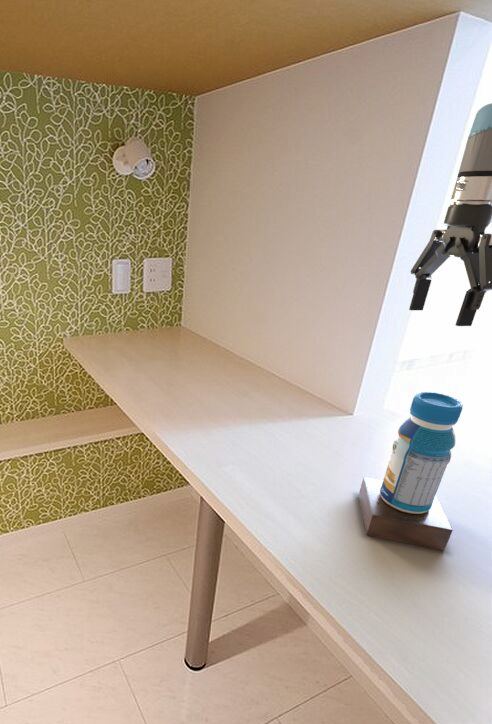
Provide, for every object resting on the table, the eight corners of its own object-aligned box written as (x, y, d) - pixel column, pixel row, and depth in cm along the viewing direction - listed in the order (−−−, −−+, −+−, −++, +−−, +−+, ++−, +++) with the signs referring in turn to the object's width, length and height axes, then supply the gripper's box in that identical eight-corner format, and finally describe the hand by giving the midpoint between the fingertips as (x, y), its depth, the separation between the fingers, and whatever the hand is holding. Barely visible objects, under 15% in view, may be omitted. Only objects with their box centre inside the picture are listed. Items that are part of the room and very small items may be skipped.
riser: (426, 508, 83) (433, 489, 81) (444, 551, 73) (452, 530, 71) (358, 495, 87) (363, 477, 85) (366, 535, 76) (372, 514, 74)
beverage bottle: (410, 521, 73) (448, 414, 64) (367, 493, 80) (396, 393, 71) (442, 508, 76) (482, 405, 68) (398, 482, 83) (429, 386, 74)
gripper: (410, 203, 91) (384, 304, 100) (513, 203, 69) (468, 333, 78) (443, 203, 92) (414, 304, 101) (555, 204, 70) (506, 333, 79)
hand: (437, 317), depth 90 cm, fingers open, 13 cm apart
